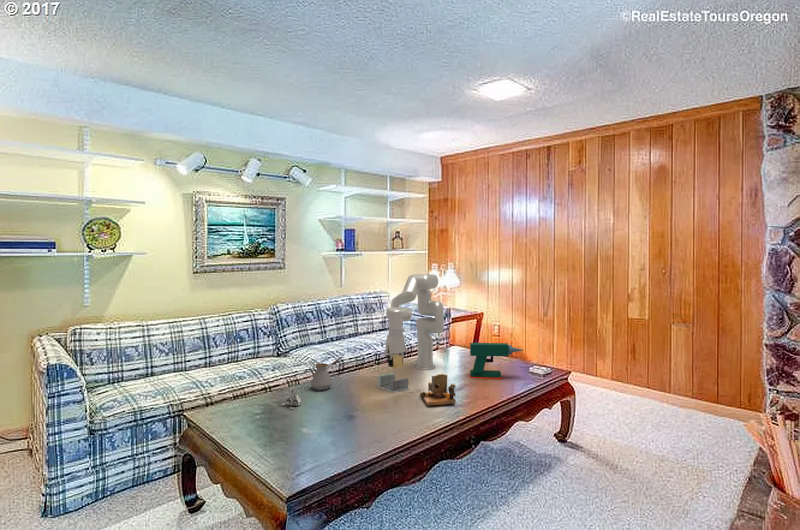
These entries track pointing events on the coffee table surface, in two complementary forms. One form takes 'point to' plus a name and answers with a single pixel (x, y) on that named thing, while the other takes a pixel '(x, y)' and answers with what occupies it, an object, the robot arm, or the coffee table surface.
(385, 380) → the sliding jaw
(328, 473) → the coffee table surface
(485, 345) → the power tool
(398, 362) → the brass block
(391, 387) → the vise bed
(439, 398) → the armchair
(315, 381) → the coffee pot
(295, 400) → the grey craggy lump
